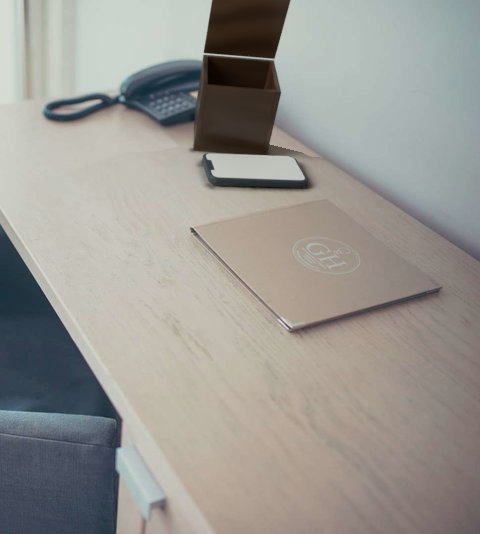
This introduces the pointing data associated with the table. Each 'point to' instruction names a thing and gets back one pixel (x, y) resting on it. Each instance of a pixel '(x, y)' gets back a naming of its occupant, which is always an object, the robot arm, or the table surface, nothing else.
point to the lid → (245, 27)
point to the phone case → (253, 170)
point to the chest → (236, 105)
